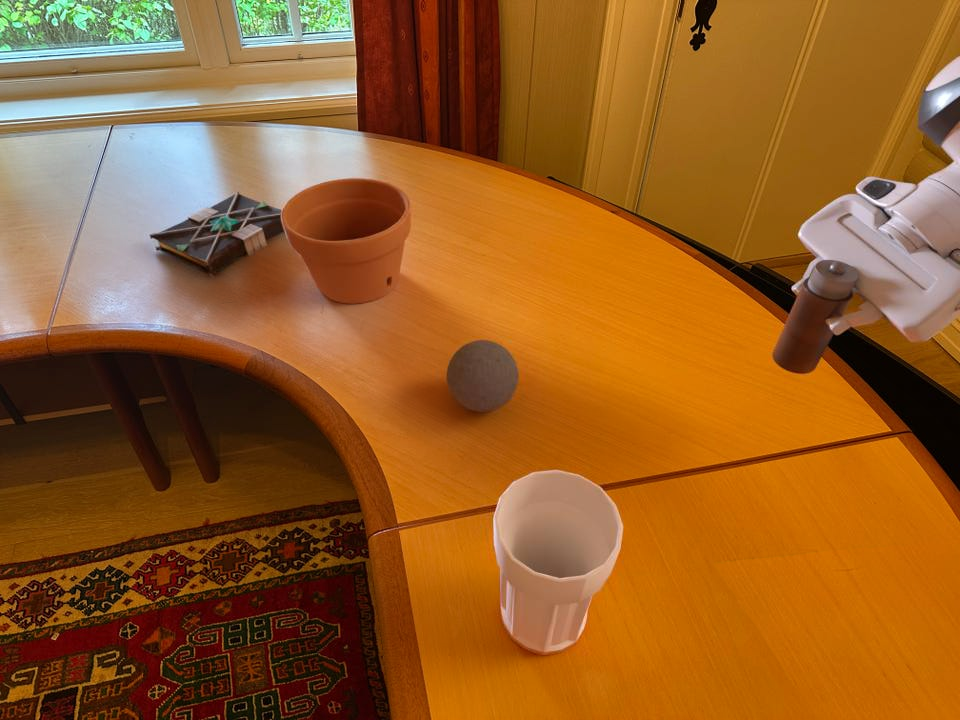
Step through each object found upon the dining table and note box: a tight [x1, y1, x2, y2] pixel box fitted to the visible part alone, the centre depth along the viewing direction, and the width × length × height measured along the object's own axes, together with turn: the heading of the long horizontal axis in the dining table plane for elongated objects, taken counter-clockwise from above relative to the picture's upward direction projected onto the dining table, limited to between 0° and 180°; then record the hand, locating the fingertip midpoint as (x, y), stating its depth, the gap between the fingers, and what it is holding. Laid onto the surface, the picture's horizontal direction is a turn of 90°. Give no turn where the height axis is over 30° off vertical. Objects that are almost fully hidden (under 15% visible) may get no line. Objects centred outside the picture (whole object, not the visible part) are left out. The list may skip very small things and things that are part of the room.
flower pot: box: [281, 177, 412, 305], centre depth 104 cm, size 21×21×15 cm
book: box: [149, 190, 285, 279], centre depth 118 cm, size 22×17×5 cm
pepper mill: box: [771, 260, 858, 375], centre depth 71 cm, size 5×5×14 cm
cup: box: [492, 469, 624, 656], centre depth 59 cm, size 11×11×17 cm
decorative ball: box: [446, 339, 519, 413], centre depth 84 cm, size 10×10×10 cm
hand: (812, 311), depth 70 cm, fingers closed on pepper mill, 5 cm apart
